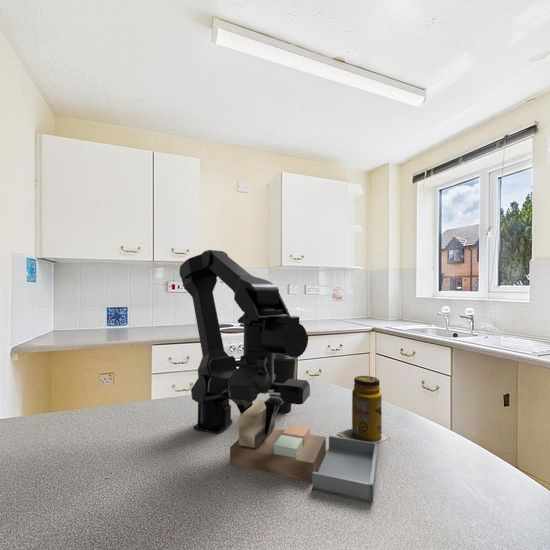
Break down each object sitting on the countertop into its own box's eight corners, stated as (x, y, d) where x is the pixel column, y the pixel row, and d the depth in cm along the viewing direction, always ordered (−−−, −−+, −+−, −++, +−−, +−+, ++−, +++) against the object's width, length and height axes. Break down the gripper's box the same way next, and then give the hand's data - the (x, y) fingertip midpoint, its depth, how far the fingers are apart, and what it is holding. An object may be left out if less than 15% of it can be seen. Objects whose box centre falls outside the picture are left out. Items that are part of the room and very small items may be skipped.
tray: (312, 489, 51) (312, 473, 51) (329, 448, 64) (329, 435, 65) (372, 503, 48) (372, 485, 48) (377, 456, 61) (377, 443, 61)
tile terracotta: (283, 441, 61) (283, 432, 61) (289, 432, 65) (289, 424, 65) (304, 444, 60) (304, 436, 60) (309, 435, 63) (309, 427, 63)
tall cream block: (238, 444, 58) (239, 416, 59) (258, 425, 67) (259, 399, 67) (256, 448, 57) (256, 418, 57) (274, 427, 66) (274, 402, 66)
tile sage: (273, 453, 56) (273, 444, 56) (281, 443, 60) (281, 435, 60) (296, 458, 55) (296, 448, 55) (302, 447, 59) (302, 438, 59)
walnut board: (229, 464, 58) (230, 447, 59) (252, 439, 68) (253, 425, 68) (313, 482, 53) (313, 463, 53) (325, 453, 63) (325, 436, 63)
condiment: (390, 438, 69) (390, 380, 70) (362, 448, 65) (362, 386, 65) (363, 425, 75) (363, 372, 76) (336, 434, 71) (336, 377, 71)
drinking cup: (268, 403, 89) (269, 328, 90) (297, 405, 88) (297, 329, 89) (264, 414, 81) (264, 332, 82) (295, 416, 80) (295, 333, 81)
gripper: (191, 353, 58) (190, 443, 58) (293, 362, 52) (293, 463, 51) (222, 343, 69) (221, 419, 68) (310, 349, 62) (310, 434, 62)
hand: (257, 432), depth 62 cm, fingers closed on tall cream block, 3 cm apart
